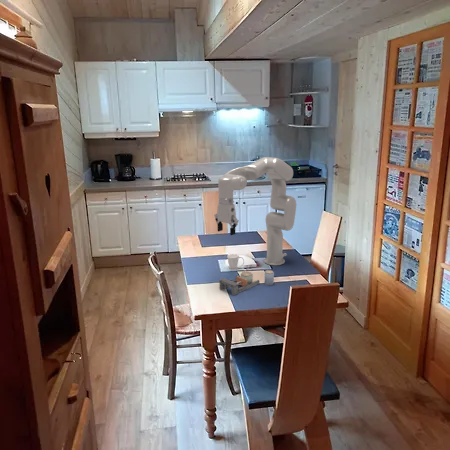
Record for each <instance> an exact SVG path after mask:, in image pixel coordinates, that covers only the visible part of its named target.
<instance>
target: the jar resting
mask: <svg viewBox="0 0 450 450" xmlns="http://www.w3.org/2000/svg"><path fill="white" fill-rule="evenodd" d="M240 277H241V278H244V279H247V284H250V283H252V282H254V279H253V277H254V275H253V273H252V272H251V271H243V272H241V273H240Z"/></svg>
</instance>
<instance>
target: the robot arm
mask: <svg viewBox="0 0 450 450" xmlns="http://www.w3.org/2000/svg"><path fill="white" fill-rule="evenodd" d="M265 174H266V176H267V178H268V179H269V181H270V183H271V195H270V201H269V205H270V208H271V209H273V210H276V211H270V212H268V213H267V214H266V216H265V226H266V231H267V232H266V257H265V258H264V261H263V262H264V264H267V265H269V266H281V265H283V264H285V262H286V259H284V257H286V256H288V254H287V253H286V252H284V253H283V250H284V249H283V247H284V246H283V245H284V244H283V243H284V234H283V231H290V230H292V229H293V227H294V225H295V219H296V211H297V200H296V199H295V197H293V196H291V195H287V184H286V182H287V181H290V180H292V179H293V176H294V169H293V167H292V166H290V165H289V164H288V163H286V162H285V161H284V160H282V159H280V158H278V157H271V156H264V157H261V158H259V159H257V160H256V161H254V162H252V163H250V164H249V165H244V166H240V167H237V168H234V169H231V170H229V171H227V172H226V173H224V174H223V175H222V176H221V177H219V178H218V181H217V182H218V184H217V185H218V187H217V188H218V204H217V213H215V214H214V215H213V217H214V218H215V222H216V225H217V232H222V231H223V228H224V226H223V224H224V223H225V224H228V225H229V226H230V227H229V235H230V236H234V235H236V228H237V226H238V223H239V219H238V218H237V213H236V212H237V211H236V206H235V204H234V202H235V200H234V191H240V190H243V189H246V187H247V184H248V181H252V180H253V181H255V180H257V179H259V178H260V177H262V176H263V175H265ZM277 211H279V212H277ZM282 212H284V213H282Z"/></svg>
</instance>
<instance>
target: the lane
mask: <svg viewBox="0 0 450 450" xmlns="http://www.w3.org/2000/svg"><path fill="white" fill-rule="evenodd" d="M259 284H260V279H257V280H255V281H254V280H253V282H252V283H250V284H247V285H245V286H241V287H239V284H238V283H237V282H236V279H234V280H230V279H227V278H225V277H222V278H220V279H219V290H220V291H224V290H226V289H227V288H229V286H231V287H230V288H231V295H232V296H236V295H238V294H239V293H242V292H244V291H246V290H248V289H251V288H253V287H255V286H257V285H259Z"/></svg>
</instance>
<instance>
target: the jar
mask: <svg viewBox="0 0 450 450" xmlns="http://www.w3.org/2000/svg"><path fill="white" fill-rule="evenodd" d="M274 276H275V272H274V271H273V270H271V269H270V270H269V269H267V270H265V271H264V285H266V286H273V285H275V284H274V282H275V279H274V278H275V277H274Z"/></svg>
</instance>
